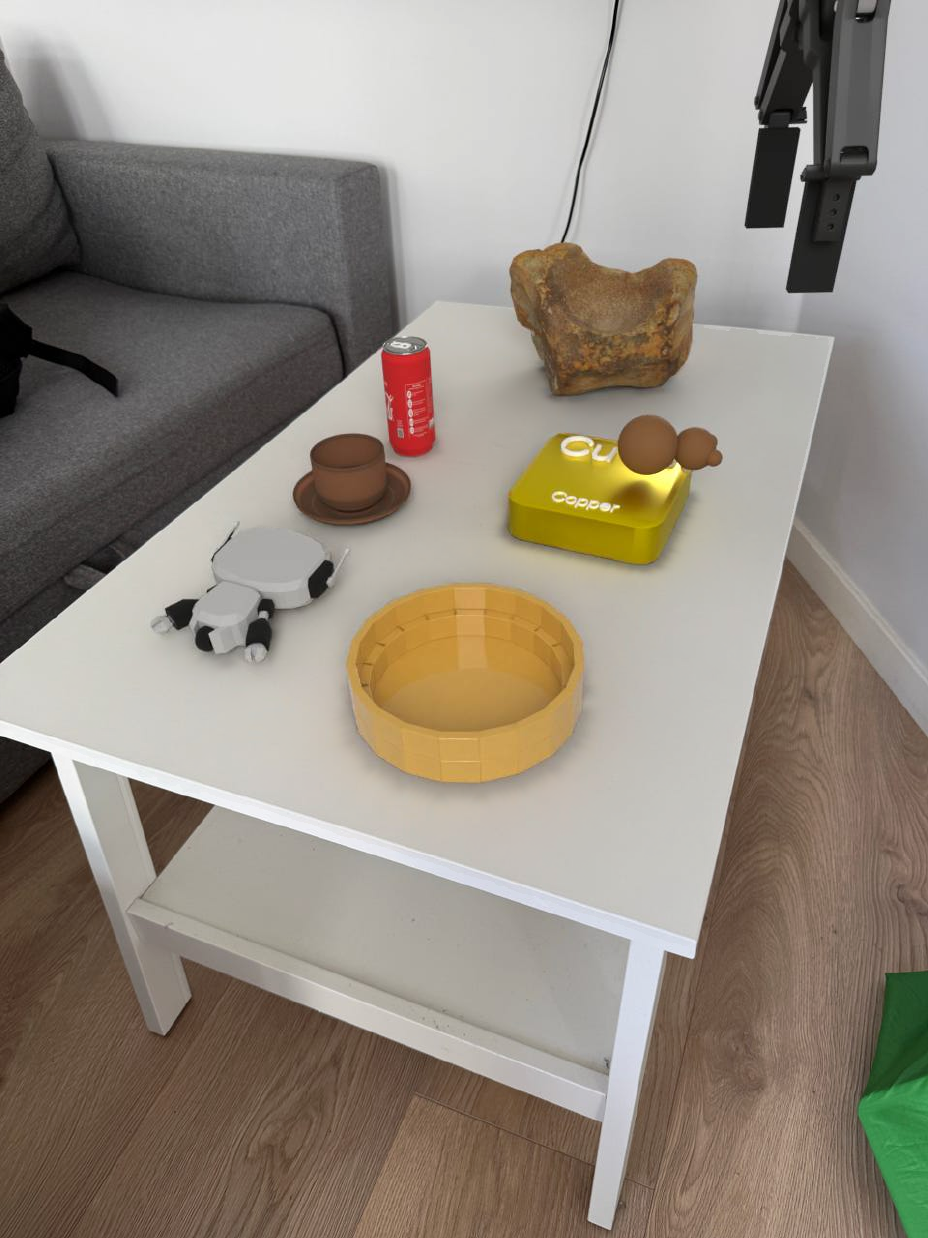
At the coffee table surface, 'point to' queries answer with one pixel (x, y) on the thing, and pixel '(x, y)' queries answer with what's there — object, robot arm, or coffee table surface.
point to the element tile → (596, 501)
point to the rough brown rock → (604, 318)
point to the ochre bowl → (466, 681)
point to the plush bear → (665, 446)
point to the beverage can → (408, 395)
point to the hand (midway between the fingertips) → (784, 256)
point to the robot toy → (253, 589)
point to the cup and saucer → (350, 482)
